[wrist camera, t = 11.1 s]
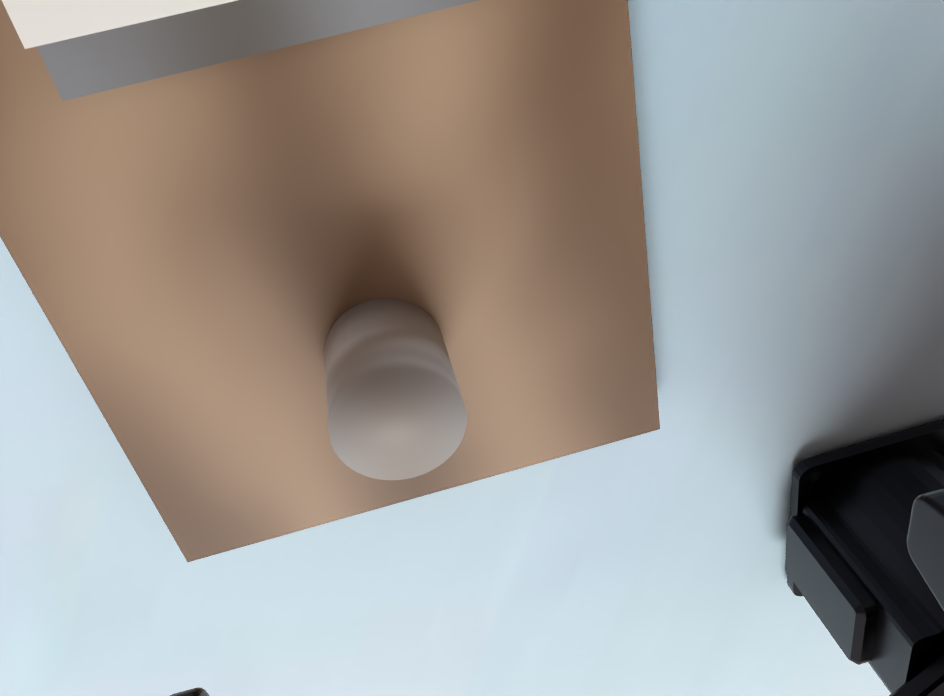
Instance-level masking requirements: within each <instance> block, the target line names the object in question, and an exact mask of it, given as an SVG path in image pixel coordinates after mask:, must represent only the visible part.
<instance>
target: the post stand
mask: <svg viewBox="0 0 944 696" xmlns="http://www.w3.org/2000/svg"><path fill="white" fill-rule="evenodd" d="M0 237H1V239H2V240H3V242H4V244H5V246H6V247H7V249H8V251H9V252H10V254H11V256H12V258H13V259H14V261H15V263H16V265H17V266H18V268H19V270H20V272H21V273H22V275H23V277H24V279H25V280H26V282H27V284H28V285H29V287H30V289H31V291H32V292H33V294H34V296H35V298H36V299H37V301H38V303H39V305H40V306H41V308H42V310H43V312H44V313H45V315H46V317H47V318H48V320H49V322H50V324H51V325H52V327H53V329H54V331H55V332H56V334H57V336H58V338H59V339H60V341H61V343H62V345H63V346H64V348H65V350H66V352H67V353H68V355H69V357H70V358H71V360H72V362H73V364H74V365H75V367H76V369H77V371H78V372H79V374H80V376H81V378H82V379H83V381H84V383H85V385H86V386H87V388H88V390H89V391H90V393H91V395H92V397H93V398H94V400H95V402H96V404H97V405H98V407H99V409H100V411H101V412H102V414H103V416H104V418H105V419H106V421H107V423H108V424H109V426H110V428H111V430H112V431H113V433H114V435H115V437H116V438H117V440H118V442H119V444H120V445H121V447H122V449H123V451H124V452H125V454H126V456H127V458H128V459H129V461H130V463H131V464H132V466H133V468H134V470H135V471H136V473H137V475H138V477H139V478H140V480H141V482H142V484H143V485H144V487H145V489H146V491H147V492H148V494H149V496H150V497H151V499H152V501H153V503H154V504H155V506H156V508H157V510H158V511H159V513H160V515H161V517H162V518H163V520H164V522H165V524H166V525H167V527H168V529H169V531H170V532H171V534H172V536H173V537H174V539H175V541H176V543H177V544H178V546H179V548H180V550H181V551H182V553H183V555H184V557H185V558H186V560H187V562H190V561H194V560H197V559H201V558H204V557H208V556H211V555H215V554H218V553H222V552H225V551H229V550H233V549H236V548H240V547H243V546H247V545H250V544H254V543H257V542H261V541H264V540H268V539H271V538H275V537H279V536H282V535H286V534H289V533H293V532H296V531H300V530H303V529H307V528H310V527H314V526H318V525H321V524H325V523H328V522H332V521H335V520H339V519H342V518H346V517H349V516H353V515H357V514H360V513H364V512H367V511H371V510H374V509H378V508H381V507H385V506H388V505H392V504H396V503H399V502H403V501H406V500H410V499H413V498H417V497H420V496H424V495H427V494H431V493H435V492H438V491H442V490H445V489H449V488H452V487H456V486H459V485H463V484H466V483H470V482H474V481H477V480H481V479H484V478H488V477H491V476H495V475H498V474H502V473H505V472H509V471H513V470H516V469H520V468H523V467H527V466H530V465H534V464H537V463H541V462H544V461H548V460H552V459H555V458H559V457H562V456H566V455H569V454H573V453H576V452H580V451H583V450H587V449H590V448H594V447H598V446H601V445H605V444H608V443H612V442H615V441H619V440H622V439H626V438H629V437H633V436H637V435H640V434H644V433H647V432H651V431H654V430H658V429H660V424H659V411H658V397H657V384H656V371H655V357H654V344H653V331H652V317H651V304H650V291H649V278H648V264H647V251H646V238H645V224H644V211H643V198H642V184H641V171H640V158H639V144H638V131H637V118H636V105H635V91H634V78H633V65H632V51H631V38H630V25H629V11H628V0H237V1H233V2H229V3H224V4H220V5H216V6H211V7H207V8H202V9H198V10H194V11H189V12H185V13H181V14H176V15H172V16H167V17H163V18H159V19H154V20H150V21H146V22H141V23H137V24H132V25H128V26H124V27H119V28H115V29H111V30H106V31H102V32H98V33H93V34H89V35H84V36H80V37H76V38H71V39H67V40H63V41H58V42H54V43H49V44H45V45H41V46H36V47H32V48H28V49H25V48H24V46H23V44H22V42H21V40H20V38H19V36H18V34H17V31H16V29H15V27H14V25H13V23H12V21H11V19H10V17H9V15H8V13H7V11H6V8H5V6H4V4H3V2H2V0H0Z"/></svg>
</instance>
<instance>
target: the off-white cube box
mask: <svg viewBox="0 0 944 696" xmlns="http://www.w3.org/2000/svg"><path fill="white" fill-rule="evenodd" d="M233 1H237V0H2V2H3V4H4V6H5V8H6V11H7V13H8V15H9V17H10V19H11V21H12V23H13V25H14V27H15V29H16V31H17V34H18V36H19V38H20V40H21V42H22V44H23V46H24V48H25V49H28V48H32V47H36V46H41V45H45V44H49V43H54V42H58V41H63V40H67V39H71V38H76V37H80V36H84V35H89V34H93V33H98V32H102V31H106V30H111V29H115V28H119V27H124V26H128V25H132V24H137V23H141V22H146V21H150V20H154V19H159V18H163V17H167V16H172V15H176V14H181V13H185V12H189V11H194V10H198V9H202V8H207V7H211V6H216V5H220V4H224V3H229V2H233Z"/></svg>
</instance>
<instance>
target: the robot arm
mask: <svg viewBox="0 0 944 696" xmlns="http://www.w3.org/2000/svg"><path fill="white" fill-rule="evenodd" d="M785 570H786V572H787V573H788V576H787V583H788V586H789V587H790V589H791V590H792V592H793V593H794V594H795V595H796V596H804V597H805V599H806V600H807V601H808V603H809V604H810V606H811V607H812V609H813V610H814V611H815V613H816V614H817V616H818V617H819V618H820V620H821V621H822V623H823V624H824V625H825V627H826V628H827V630H828V631H829V632H830V634H831V635H832V637H833V638H834V639H835V641H836V642H837V644H838V645H839V646H840V648H841V649H842V651H843V652H844V653H845V655H846V656H847V658H848V659H849V660H851V661H853V662H854V663H856V664H862V663H866V662H868V663H869V664H870V665H871V667H872V668H873V670H874V671H875V672H876V674H877V675H878V676H879V678H880V679H881V680H882V682H883V683H884V685H885V686H886V687H887V689H888V690H889V691H890V693H891V695H889V696H944V419H943V420H940V421H936V422H933V423H930V424H926V425H923V426H919V427H916V428H912V429H909V430H905V431H902V432H898V433H895V434H891V435H888V436H884V437H881V438H877V439H874V440H871V441H867V442H864V443H860V444H857V445H853V446H850V447H846V448H843V449H839V450H836V451H832V452H829V453H825V454H822V455H819V456H815V457H812V458H808V459H805V460H803V461H801V462H800V463H799V464H797V465H796V467H795V468H794V470H793V474H792V492H791V513H790V519H789V521H788V524H787V540H786V563H785ZM170 696H209V694H208V693H207V692H206V690H204V689H202V688H194V689H190V690H187V691H183V692H179V693H175V694H173V695H170Z"/></svg>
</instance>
